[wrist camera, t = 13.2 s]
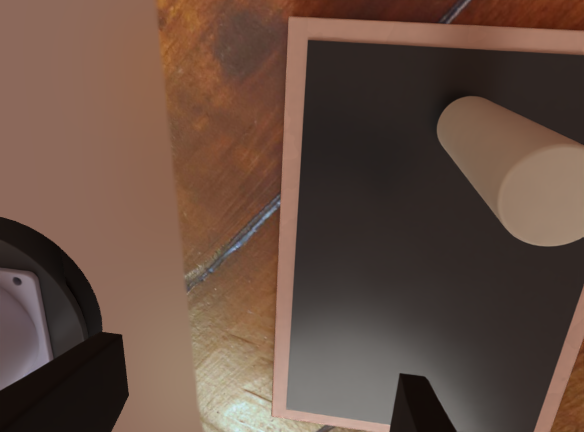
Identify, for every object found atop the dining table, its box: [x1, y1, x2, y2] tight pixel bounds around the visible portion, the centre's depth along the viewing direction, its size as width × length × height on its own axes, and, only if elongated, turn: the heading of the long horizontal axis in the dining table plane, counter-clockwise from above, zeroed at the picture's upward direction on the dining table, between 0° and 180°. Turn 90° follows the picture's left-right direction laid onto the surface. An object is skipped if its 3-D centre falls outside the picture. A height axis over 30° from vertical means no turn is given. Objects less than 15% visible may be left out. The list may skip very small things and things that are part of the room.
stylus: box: [437, 96, 584, 246], centre depth 13 cm, size 2×2×9 cm
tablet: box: [271, 16, 584, 432], centre depth 20 cm, size 14×20×1 cm
